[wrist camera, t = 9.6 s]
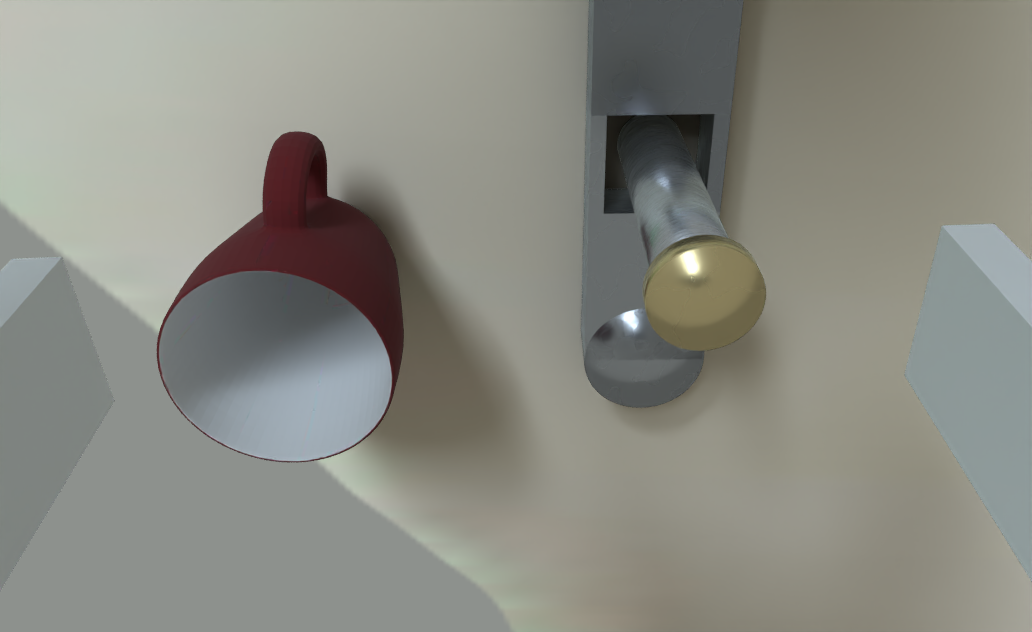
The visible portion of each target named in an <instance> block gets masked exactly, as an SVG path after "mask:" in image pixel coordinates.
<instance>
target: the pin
mask: <svg viewBox="0 0 1032 632" xmlns="http://www.w3.org/2000/svg"><path fill="white" fill-rule="evenodd" d="M617 148H618V153H619V157H620V160H621V164H622V168H623V172H624V176H625V179H626V183H627V187H628V191H629V194H630V198H631V202H632V206H633V210H634V213H635V217H636V221H637V225H638V228H639V232H640V236H641V240H642V244H643V247H644V251H645V255H646V259H647V262H648V266H649V268H648V270H647V272H646V274H645V277H644V281H643V287H642V295H643V301H644V305H645V309H646V314H647V317H648V320H649V322H650V324H651V326H652V328H653V329H654V331H655V332H656V333H657V334H658V335H659V336H660V337H661V338H662V339H664V340H665V341H666V342H668V343H670V344H672V345H674V346H676V347H679V348H683V349H687V350H695V351H704V350H712V349H717V348H720V347H723V346H726V345H728V344H731V343H732V342H734V341H736V340H738V339H739V338H741V337H742V336H744V335H745V334H746V333H747V332H748V331H749V330H750V329H751V328H752V327H753V326H754V325H755V323H756V322H757V320H758V319H759V317H760V315H761V313H762V311H763V308H764V304H765V300H766V288H765V283H764V279H763V277H762V275H761V272H760V270H759V268H758V266H757V264H756V262H755V260H754V259H753V257H752V255H751V254H750V253H749V252H748V251H747V250H746V249H745V248H744V247H743V246H742V245H740V244H739V243H737V242H735V241H733V240H731V239H729V238H728V236H727V233H726V231H725V229H724V227H723V225H722V222H721V220H720V218H719V216H718V214H717V211H716V209H715V207H714V205H713V203H712V201H711V198H710V196H709V194H708V192H707V190H706V187H705V185H704V183H703V181H702V179H701V176H700V174H699V172H698V170H697V168H696V165H695V163H694V161H693V159H692V157H691V154H690V152H689V150H688V148H687V146H686V143H685V141H684V139H683V137H682V135H681V133H680V130H679V128H678V126H677V125H676V123H675V122H674V121H673V120H672V119H671V118H669V117H668V116H666V115H637V116H635V117H633V118H632V119H630V120H629V121H628V122H627V123H626V124H625V125H624V126H623V128H622V130H621V131H620V134H619V137H618V142H617Z"/></svg>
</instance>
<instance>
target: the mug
mask: <svg viewBox="0 0 1032 632" xmlns="http://www.w3.org/2000/svg"><path fill="white" fill-rule="evenodd" d="M403 340H404V328H403V315H402V306H401V297H400V288H399V278H398V271H397V265H396V261H395V257H394V254H393V252H392V249H391V247H390V245H389V243H388V241H387V239H386V237H385V236H384V234H383V233H382V232H381V230H380V229H379V228H378V227H377V225H376V224H375V223H374V222H373V221H372V220H371V219H370V218H369V217H367V216H366V215H365V214H364V213H362V212H361V211H360V210H358V209H357V208H355V207H353V206H351V205H349V204H347V203H345V202H342V201H340V200H336V199H334V198H331V197H328V196H327V160H326V153H325V149H324V146H323V144H322V142H321V141H320V140H319V139H318V138H317V137H316V136H315V135H312V134H310V133H306V132H288V133H285V134H283V135H281V136H280V137H279V138H278V139H277V140H276V141H275V143H274V144H273V146H272V149H271V151H270V154H269V158H268V161H267V166H266V171H265V177H264V186H263V212H262V213H260V214H259V215H257V216H256V217H255V218H253V219H252V220H251V221H250V222H248V223H247V224H246V225H244V226H243V227H242V228H241V229H239V230H238V231H237V232H236V233H234V234H233V235H232V236H231V237H229V238H228V239H227V240H226V241H224V242H223V243H222V244H221V245H219V246H218V247H217V248H216V249H215V250H214V251H212V252H211V253H210V254H209V255H208V256H207V257H206V258H205V259H204V260H203V261H202V262H201V263H200V264H199V265H198V266H197V268H196V269H195V270H194V271H193V273H192V274H191V275H190V277H189V278H188V280H187V281H186V283H185V284H184V286H183V287H182V289H181V290H180V292H179V293H178V295H177V297H176V298H175V300H174V302H173V303H172V305H171V307H170V308H169V310H168V312H167V314H166V316H165V318H164V320H163V323H162V325H161V328H160V332H159V336H158V342H157V361H158V368H159V372H160V376H161V379H162V381H163V384H164V387H165V388H166V391H167V392H168V394H169V396H170V398H171V399H172V401H173V403H174V404H175V405H176V407H177V408H178V409H179V411H180V412H181V413H182V414H183V415H184V416H185V417H186V418H187V420H188V421H190V422H191V423H192V424H193V425H194V426H195V427H196V428H197V429H199V430H200V431H201V432H203V433H204V434H205V435H207V436H208V437H210V438H211V439H213V440H215V441H216V442H218V443H220V444H222V445H223V446H225V447H228V448H230V449H232V450H234V451H237V452H239V453H242V454H245V455H248V456H251V457H255V458H259V459H264V460H270V461H278V462H308V461H314V460H320V459H324V458H328V457H331V456H334V455H337V454H340V453H342V452H344V451H347V450H349V449H350V448H352V447H354V446H356V445H357V444H359V443H360V442H361V441H363V440H364V439H365V438H367V437H368V436H369V435H370V434H371V433H372V432H373V431H374V430H375V429H376V428H377V426H378V425H379V424H380V422H381V421H382V420H383V418H384V416H385V414H386V413H387V411H388V408H389V406H390V403H391V401H392V397H393V394H394V390H395V386H396V382H397V378H398V374H399V369H400V365H401V359H402V353H403Z"/></svg>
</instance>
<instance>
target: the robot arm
mask: <svg viewBox="0 0 1032 632" xmlns="http://www.w3.org/2000/svg"><path fill="white" fill-rule="evenodd" d="M904 375H905V377H906V379H907V380H908V382H909V383H910V385H911V387H912V388H913V390H914V391H915V393H916V395H917V396H918V398H919V400H920V401H921V403H922V404H923V406H924V408H925V409H926V411H927V413H928V414H929V416H930V417H931V419H932V421H933V422H934V424H935V426H936V427H937V429H938V430H939V432H940V434H941V435H942V437H943V439H944V440H945V442H946V443H947V445H948V447H949V448H950V450H951V451H952V453H953V455H954V456H955V458H956V460H957V461H958V463H959V464H960V466H961V468H962V469H963V471H964V473H965V474H966V476H967V477H968V479H969V481H970V482H971V484H972V486H973V487H974V489H975V490H976V492H977V494H978V495H979V497H980V498H981V500H982V502H983V503H984V505H985V507H986V508H987V510H988V511H989V513H990V515H991V516H992V518H993V520H994V521H995V523H996V524H997V526H998V528H999V529H1000V531H1001V533H1002V534H1003V536H1004V537H1005V539H1006V541H1007V542H1008V544H1009V546H1010V547H1011V549H1012V550H1013V552H1014V554H1015V555H1016V557H1017V558H1018V560H1019V562H1020V563H1021V565H1022V567H1023V568H1024V570H1025V571H1026V573H1027V575H1028V576H1029V578H1030V580H1031V581H1032V261H1031V260H1030V259H1029V258H1028V257H1027V256H1026V255H1025V254H1024V253H1023V252H1022V251H1021V250H1020V249H1019V248H1018V247H1017V246H1016V245H1015V244H1014V243H1013V242H1012V241H1011V240H1010V239H1009V238H1008V237H1007V236H1006V235H1005V234H1004V233H1003V232H1002V231H1001V230H1000V229H999V228H998V227H997V226H996V225H995V224H973V225H945V226H942V227H941V231H940V235H939V239H938V243H937V247H936V251H935V255H934V259H933V263H932V267H931V271H930V275H929V279H928V283H927V287H926V291H925V295H924V299H923V303H922V307H921V311H920V315H919V319H918V323H917V327H916V331H915V335H914V339H913V343H912V347H911V351H910V355H909V359H908V362H907V366H906V370H905V374H904ZM114 401H115V400H114V397H113V395H112V392H111V389H110V387H109V384H108V381H107V378H106V376H105V373H104V370H103V367H102V365H101V362H100V359H99V356H98V354H97V351H96V348H95V346H94V343H93V340H92V337H91V335H90V332H89V329H88V326H87V324H86V321H85V318H84V315H83V313H82V310H81V307H80V305H79V302H78V299H77V296H76V293H75V291H74V288H73V285H72V282H71V280H70V277H69V274H68V272H67V269H66V266H65V263H64V261H63V258H62V257H49V258H24V259H23V258H21V259H11V260H10V261H9V262H8V263H7V264H6V265H5V266H4V267H3V269H2V270H1V271H0V591H1V589H2V587H3V586H4V584H5V582H6V581H7V579H8V577H9V576H10V574H11V572H12V571H13V569H14V567H15V566H16V564H17V562H18V561H19V559H20V557H21V556H22V554H23V552H24V551H25V549H26V548H27V546H28V544H29V543H30V541H31V539H32V538H33V536H34V534H35V532H36V531H37V529H38V528H39V526H40V524H41V523H42V521H43V519H44V518H45V516H46V514H47V513H48V511H49V509H50V508H51V506H52V504H53V503H54V501H55V499H56V498H57V496H58V494H59V493H60V491H61V489H62V488H63V486H64V484H65V483H66V481H67V479H68V478H69V476H70V474H71V473H72V471H73V469H74V468H75V466H76V464H77V463H78V461H79V459H80V458H81V456H82V454H83V453H84V451H85V449H86V448H87V446H88V444H89V443H90V441H91V439H92V438H93V436H94V434H95V433H96V431H97V429H98V428H99V426H100V424H101V423H102V421H103V419H104V418H105V416H106V415H107V413H108V411H109V409H110V408H111V406H112V405H113V403H114Z"/></svg>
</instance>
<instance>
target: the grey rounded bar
mask: <svg viewBox="0 0 1032 632" xmlns="http://www.w3.org/2000/svg"><path fill="white" fill-rule="evenodd" d="M742 9H743V0H589V16H588V58H587V100H586V142H585V184H584V226H583V268H582V310H581V338H582V347H583V356H584V365H585V371H586V374H587V377H588V379H589V381H590V383H591V385H592V386H593V387H594V388H595V390H596V391H597V392H598V393H600V394H601V395H602V396H603V397H605V398H606V399H608V400H610V401H612V402H614V403H617V404H620V405H623V406H628V407H640V408H641V407H652V406H657V405H660V404H664V403H666V402H669V401H671V400H673V399H675V398H677V397H678V396H680V395H681V394H683V393H684V392H685V391H686V390H687V389H688V388H689V387H690V386H691V385H692V384H693V383H694V381H695V380H696V379H697V377H698V375H699V373H700V371H701V368H702V365H703V360H704V351H705V350H704V351H695V350H687V349H683V348H679V347H676V346H674V345H672V344H670V343H668V342H666V341H665V340H664V339H662V338H661V337H660V336H659V335H658V334H657V333H656V332H655V331H654V329H653V328H652V326H651V324H650V322H649V320H648V317H647V314H646V309H645V305H644V301H643V295H642V287H643V281H644V277H645V274H646V272H647V270H648V268H649V266H648V262H647V259H646V255H645V251H644V247H643V244H642V240H641V236H640V232H639V228H638V225H637V221H636V217H635V213H634V210H633V206H632V202H631V198H630V194H629V191H628V188H625V189H604V186H605V158H606V131H607V116H613V115H675V114H701V118H700V129H699V140H698V151H697V161H696V168H697V170H698V172H699V174H700V176H701V179H702V181H703V183H704V185H705V187H706V190H707V192H708V194H709V196H710V198H711V201H712V203H713V205H714V207H715V209H716V211H717V214H718V216H720V207H721V198H722V189H723V180H724V171H725V162H726V153H727V144H728V135H729V126H730V117H731V108H732V99H733V90H734V81H735V72H736V63H737V54H738V45H739V36H740V27H741V18H742Z"/></svg>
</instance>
